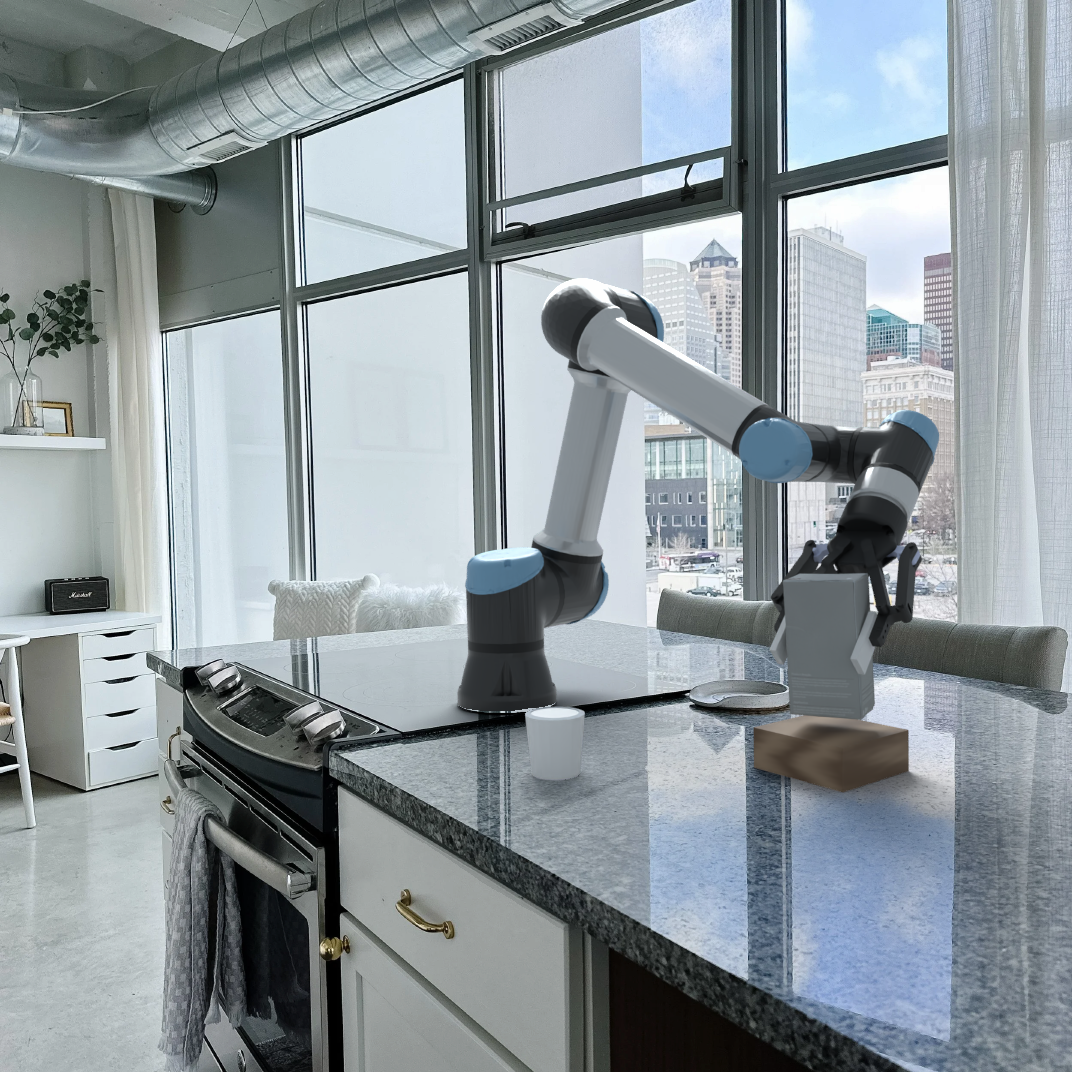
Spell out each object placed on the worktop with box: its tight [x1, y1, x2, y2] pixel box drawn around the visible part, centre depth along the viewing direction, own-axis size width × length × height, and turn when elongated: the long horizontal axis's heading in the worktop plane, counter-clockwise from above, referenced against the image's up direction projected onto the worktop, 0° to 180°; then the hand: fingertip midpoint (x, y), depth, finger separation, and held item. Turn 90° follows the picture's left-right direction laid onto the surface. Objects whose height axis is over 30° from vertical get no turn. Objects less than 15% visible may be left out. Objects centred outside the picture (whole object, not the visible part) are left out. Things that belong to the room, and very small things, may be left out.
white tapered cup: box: [524, 706, 586, 781], centre depth 108 cm, size 7×7×7 cm
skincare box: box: [783, 573, 876, 720], centre depth 107 cm, size 8×7×16 cm
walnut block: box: [753, 715, 910, 793], centre depth 108 cm, size 12×12×5 cm
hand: (815, 661), depth 105 cm, fingers closed on skincare box, 9 cm apart
